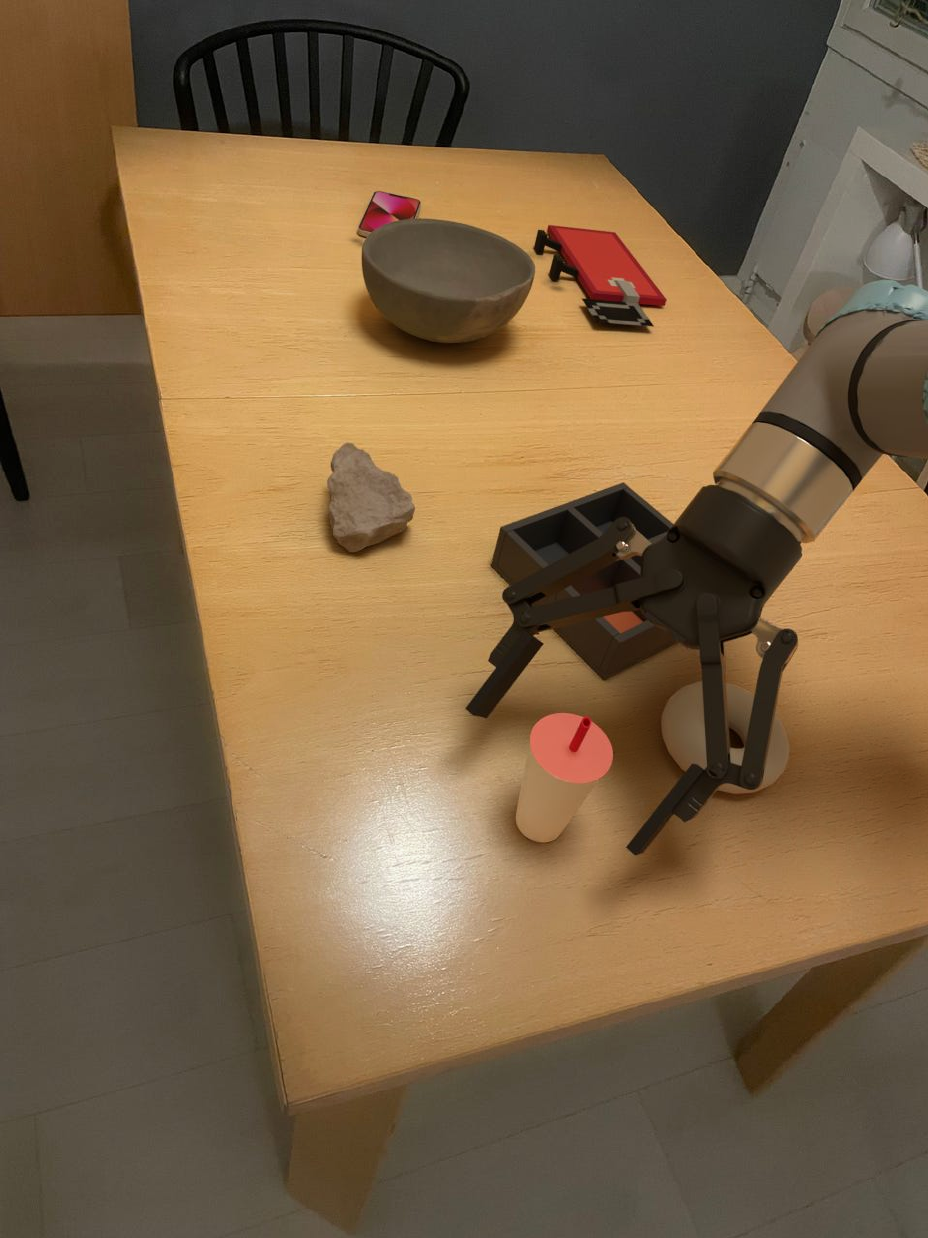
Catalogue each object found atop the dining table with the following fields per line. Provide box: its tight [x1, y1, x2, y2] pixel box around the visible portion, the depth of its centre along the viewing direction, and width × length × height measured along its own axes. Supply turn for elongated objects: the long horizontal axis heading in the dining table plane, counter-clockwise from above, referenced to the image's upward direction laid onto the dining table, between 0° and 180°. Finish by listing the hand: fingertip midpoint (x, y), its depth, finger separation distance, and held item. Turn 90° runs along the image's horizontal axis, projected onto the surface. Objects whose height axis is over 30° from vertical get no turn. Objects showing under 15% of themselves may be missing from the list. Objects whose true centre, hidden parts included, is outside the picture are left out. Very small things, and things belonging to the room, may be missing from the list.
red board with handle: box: [533, 224, 668, 327], centre depth 125 cm, size 30×3×15 cm
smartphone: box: [357, 190, 422, 238], centre depth 128 cm, size 7×1×15 cm
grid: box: [490, 481, 678, 681], centre depth 78 cm, size 15×15×5 cm
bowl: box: [361, 217, 536, 344], centre depth 105 cm, size 20×20×10 cm
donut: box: [660, 680, 791, 795], centre depth 68 cm, size 10×4×10 cm
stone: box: [326, 442, 416, 553], centre depth 78 cm, size 10×8×6 cm
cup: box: [515, 712, 614, 844], centre depth 57 cm, size 5×5×12 cm
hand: (551, 779), depth 57 cm, fingers open, 13 cm apart
